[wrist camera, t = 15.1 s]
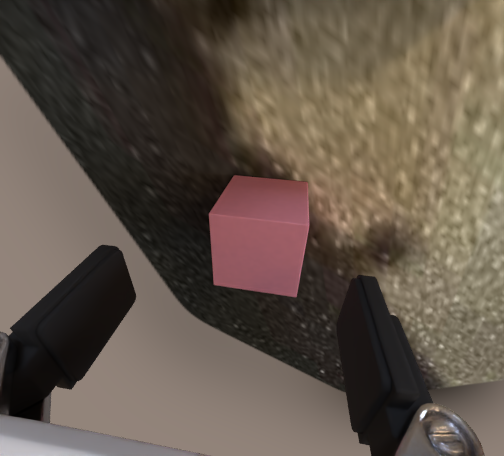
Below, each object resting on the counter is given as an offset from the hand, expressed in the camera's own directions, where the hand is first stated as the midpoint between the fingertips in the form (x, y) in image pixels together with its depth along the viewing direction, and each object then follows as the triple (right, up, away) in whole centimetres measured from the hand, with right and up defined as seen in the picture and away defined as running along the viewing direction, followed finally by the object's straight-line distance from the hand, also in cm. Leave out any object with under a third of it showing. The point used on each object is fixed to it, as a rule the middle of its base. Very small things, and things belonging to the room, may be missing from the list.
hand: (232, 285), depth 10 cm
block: (+2, +3, +6) cm, 7 cm away
